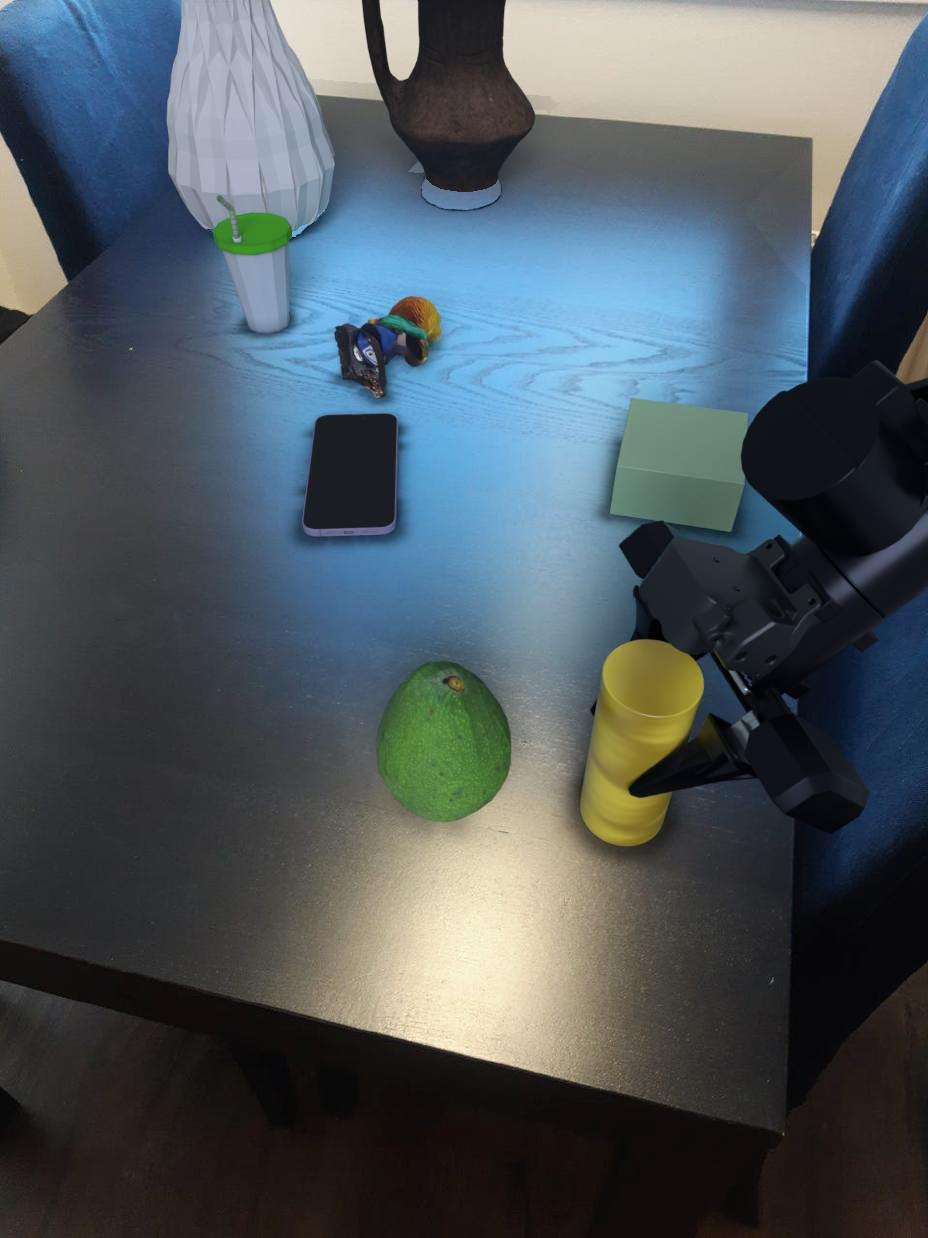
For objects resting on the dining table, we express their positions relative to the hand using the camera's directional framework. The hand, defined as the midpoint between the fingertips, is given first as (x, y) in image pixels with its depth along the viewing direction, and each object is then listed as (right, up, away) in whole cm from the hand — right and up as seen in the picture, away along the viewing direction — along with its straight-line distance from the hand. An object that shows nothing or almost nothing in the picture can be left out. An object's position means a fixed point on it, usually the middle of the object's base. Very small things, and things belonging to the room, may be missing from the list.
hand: (613, 753), depth 50 cm
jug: (-10, +65, +70) cm, 96 cm away
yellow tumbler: (+1, -4, +5) cm, 7 cm away
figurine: (-16, +33, +40) cm, 54 cm away
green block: (+10, +19, +27) cm, 34 cm away
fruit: (-10, -4, +6) cm, 12 cm away
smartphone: (-18, +20, +28) cm, 39 cm away
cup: (-30, +40, +47) cm, 68 cm away
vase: (-34, +58, +63) cm, 92 cm away
